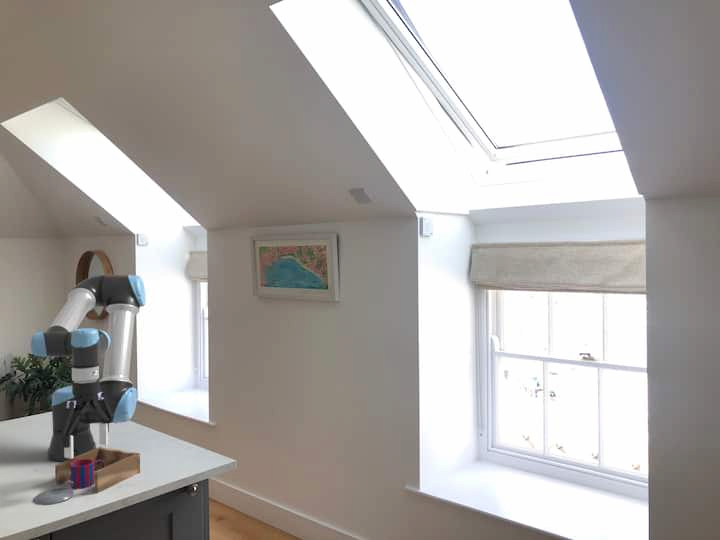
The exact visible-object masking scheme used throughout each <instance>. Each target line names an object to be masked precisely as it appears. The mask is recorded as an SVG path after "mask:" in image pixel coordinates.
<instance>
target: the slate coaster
mask: <svg viewBox="0 0 720 540" xmlns="http://www.w3.org/2000/svg"><path fill="white" fill-rule="evenodd" d="M74 495H75V492H74V490H73V489H72V488H64V487H63V488H61V487H59V488H52V489H48V490H45V491H43V492H40V493H38V494H37V495H36V496H35V497H34V502H35V503H36V504H38V505H55V504H60V503H64V502H67V501H68V500H70V499H72V498H73V497H74Z"/></svg>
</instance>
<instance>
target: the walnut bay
mask: <svg viewBox="0 0 720 540" xmlns="http://www.w3.org/2000/svg"><path fill="white" fill-rule="evenodd" d="M79 459H92V460H94V461H96V460H102V461H103V462H104V464H105V468H102V466H103V465H102V462H97V463H96V464H95V465H94V470H96V468H97V469H98V468H101V469H98V470H96V471H94V477H95V479H94V493H96V494H98V493H101V492H102V491H103V492H104V491H105V490H106V489H108V488H111V487H113V486H114V485H117V484H119V483H121V482H123V481H125V480H127V479H129V478H131V477H134V476H136V475H137V474H140V473H141V453H139V452H133V451H126V450H120V449H113V448H106V447H101V446H99V447H96V449H94V450H91V451H89V452H86V453H84V454H81V455H79V456H76V457H74V458H72V459H69V460H67V461H61V462H59V463H57V464H55V467H54V469H55V470H54V473H55V476H54V477H55V479H54V480H55V485H56V486H60V485H62V484H65V483H66V482H70V463H71V462H73V461H75V460H79Z"/></svg>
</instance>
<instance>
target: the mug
mask: <svg viewBox="0 0 720 540" xmlns="http://www.w3.org/2000/svg"><path fill="white" fill-rule="evenodd" d="M97 462H102V465H103V466H102V467H101V469H102V468H105V464H104V462H103V461H102V460H96V461H94V460H92V459H79V460H75V461H73V462H71V463H70V481H69V487H70V489H72V490H73V489H75V490H82V489H87V488H90V487H92V486H94V485H95V477H94V472H95V469H94V465H95V464H96V463H97Z"/></svg>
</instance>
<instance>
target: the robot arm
mask: <svg viewBox="0 0 720 540" xmlns="http://www.w3.org/2000/svg"><path fill="white" fill-rule="evenodd" d="M145 305H146V289H145V284H144V281H143V278H142V277H141V276H139V275H135V274H134V275H133V274H117V275H115V274H112V275H111V274H108V275H105V274H103V275H102V274H98V275H94V276H90V277H88V278H86V279H84V280H82V281H80V282H79V283H78V284H76V285H74V287H72V289H71V290H70V291H69V292H68V294H67V300H66V302H65V304H64V305H63V307H62V308H61V309H60V311H59V313H58V314H57V315H56V317H55V318H54V320H53V321H52V322H51V324H50V325H49V327H48V328H47V329H46V331H39V332H35V333H33V335H32V336H31V340H30V351H31V353H32V354H33V356H35V357H45V358H47V357H71V380H72V381H73V382H72V384H71V385H67V386H64V387H61V388H59V389H58V388H57V390H55V391H54V392H53V393H52V397H51V400H52V401H51V402H52V403H51V412H52V413H51V415H52V418H51V419H52V437H51V440H50V443H49V447H48V448H47V459H49V460H50V461H53V462H64V461H67V460H69V459H72V458H74V457H76V456H79V455H81V454H84V453H86V452H89V451H91V450H94V449H96V448H97V444H96V442H95V440H94V436H93V434H92V431H91V424H98V432H99V437H98V438H99V440H98V441H99V445H101V446H102V445H104V446H108V445H109V432H110V424H118V423H126V422H129V421H130V420H131V419H133V416H134V414H135V412H136V407H137V402H138V397H137V396H138V390H137V389H136V388H135V387H134V386H133V384H134V383H133V381H131V380H130V370H131V369H130V366H131V359H132V358H131V357H132V346H133V337H134V327H135V326H134V325H135V316H136V315H138V314H139V313H140V309H141V308H142V307H144V306H145ZM96 307H97V308H98V307H99V308H100V307H103V308H105V311H106V312H107V313H108V314H109V316H108V317H109V318H108V326H107V332H106V331H104V330H102V329H96V328H93V327H92V328H91V327H88V328H87V327H86V328H85V327H84V328H79V326H80V325H81V323H82V321H83V320H84V319H85V317H86V315H87V313H88V312H91V311H92V310H93V309H94V308H96ZM104 353H105V354H104ZM102 354H104V360H103V361H104V364H103V372H102V373H103V374H102V378H101V379H100V356H99V355H102ZM99 379H100V380H99Z"/></svg>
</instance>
